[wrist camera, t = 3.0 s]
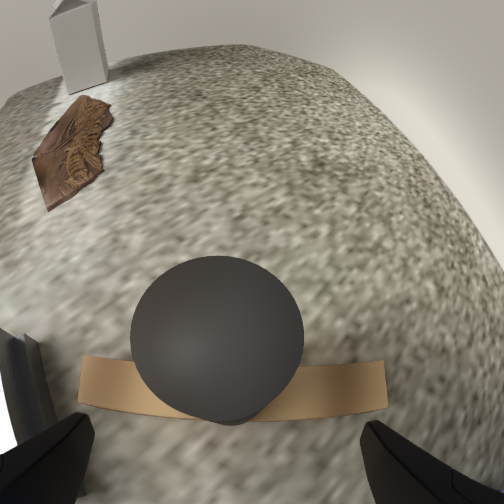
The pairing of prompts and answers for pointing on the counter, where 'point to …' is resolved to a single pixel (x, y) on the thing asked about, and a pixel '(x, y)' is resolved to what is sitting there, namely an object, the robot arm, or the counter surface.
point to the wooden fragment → (71, 151)
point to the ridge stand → (23, 393)
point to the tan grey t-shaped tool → (225, 354)
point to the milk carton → (79, 44)
